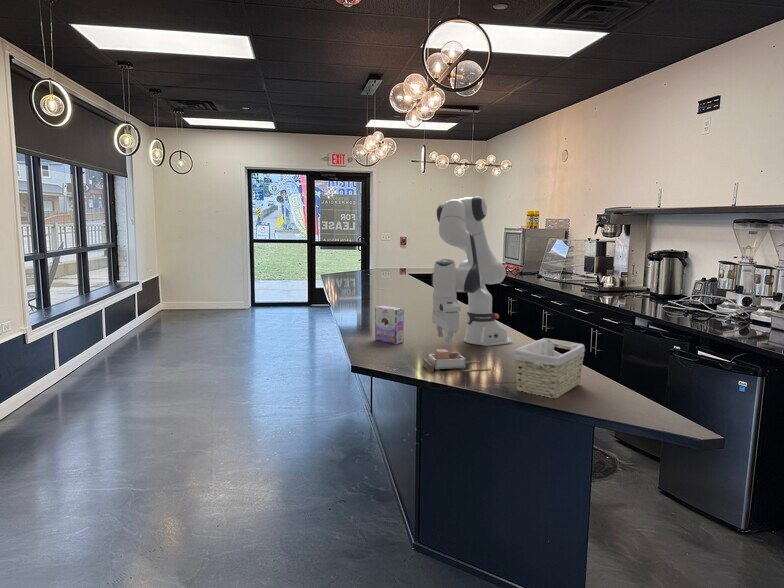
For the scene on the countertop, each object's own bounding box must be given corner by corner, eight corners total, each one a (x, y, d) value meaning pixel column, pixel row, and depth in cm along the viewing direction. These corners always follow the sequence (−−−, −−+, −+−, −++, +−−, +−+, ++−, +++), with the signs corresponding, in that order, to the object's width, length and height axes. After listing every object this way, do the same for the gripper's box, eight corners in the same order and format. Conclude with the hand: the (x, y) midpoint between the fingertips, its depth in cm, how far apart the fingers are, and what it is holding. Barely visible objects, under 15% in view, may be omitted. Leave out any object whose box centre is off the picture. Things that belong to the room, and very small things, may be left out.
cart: (457, 364, 202) (457, 352, 202) (465, 370, 194) (465, 358, 193) (427, 365, 200) (428, 354, 199) (434, 372, 191) (435, 360, 190)
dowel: (456, 361, 199) (457, 351, 199) (460, 364, 196) (460, 353, 195) (447, 361, 198) (447, 351, 198) (450, 364, 195) (451, 354, 194)
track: (479, 364, 207) (480, 354, 206) (493, 373, 194) (493, 363, 194) (421, 367, 201) (422, 357, 201) (431, 377, 189) (432, 366, 188)
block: (445, 361, 198) (445, 349, 198) (448, 364, 195) (449, 351, 194) (435, 362, 197) (435, 349, 197) (438, 365, 194) (438, 352, 193)
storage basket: (556, 402, 164) (558, 357, 162) (510, 391, 175) (511, 348, 173) (584, 384, 182) (587, 344, 180) (541, 375, 193) (543, 336, 191)
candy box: (404, 342, 242) (404, 308, 240) (395, 345, 238) (396, 309, 236) (383, 338, 251) (383, 304, 249) (374, 340, 247) (374, 306, 245)
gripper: (428, 299, 202) (428, 333, 204) (445, 308, 182) (445, 346, 184) (443, 298, 203) (443, 332, 205) (462, 307, 184) (461, 345, 186)
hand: (444, 339), depth 195 cm, fingers open, 8 cm apart
